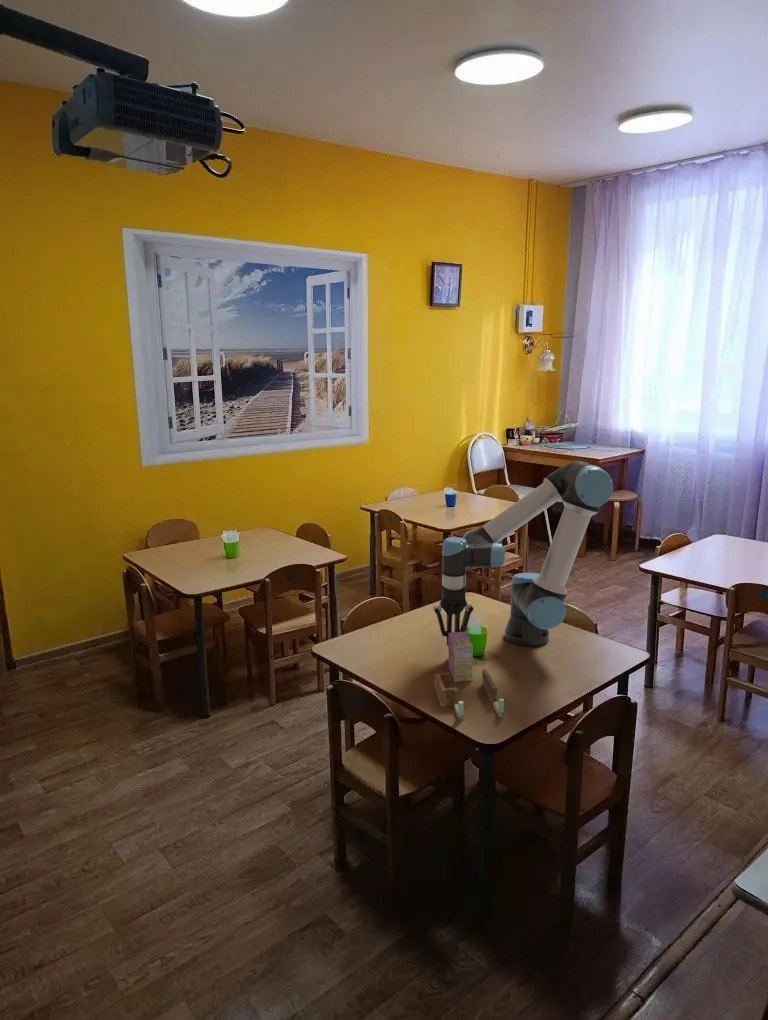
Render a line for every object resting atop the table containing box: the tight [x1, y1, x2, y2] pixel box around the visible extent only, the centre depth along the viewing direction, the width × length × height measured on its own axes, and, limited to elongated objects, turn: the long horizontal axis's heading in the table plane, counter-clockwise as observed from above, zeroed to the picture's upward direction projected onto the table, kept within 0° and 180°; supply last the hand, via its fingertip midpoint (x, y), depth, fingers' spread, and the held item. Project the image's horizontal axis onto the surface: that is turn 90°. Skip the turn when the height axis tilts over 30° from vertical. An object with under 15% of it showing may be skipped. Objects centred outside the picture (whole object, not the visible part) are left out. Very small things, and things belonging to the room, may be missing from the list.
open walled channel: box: [434, 669, 498, 708], centre depth 199 cm, size 16×12×5 cm
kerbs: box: [453, 698, 505, 721], centre depth 189 cm, size 12×6×5 cm, turn 96°
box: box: [447, 631, 474, 683], centre depth 212 cm, size 10×6×12 cm, turn 5°
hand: (452, 655), depth 223 cm, fingers closed
